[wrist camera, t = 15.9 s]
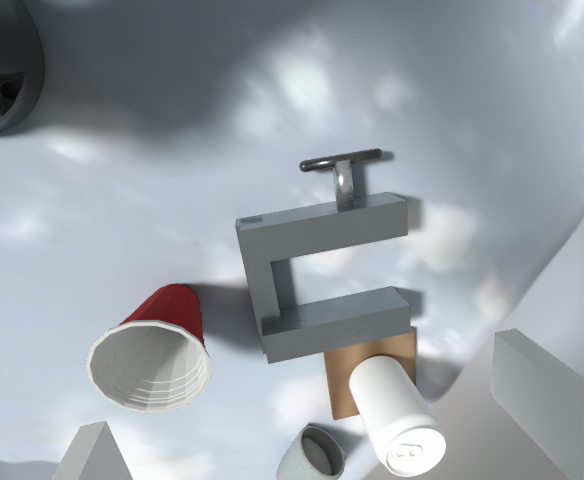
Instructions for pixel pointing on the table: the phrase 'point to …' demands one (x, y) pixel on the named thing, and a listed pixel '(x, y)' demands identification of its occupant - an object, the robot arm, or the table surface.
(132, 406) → the plastic cup
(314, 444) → the ceramic mug
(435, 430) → the beverage can
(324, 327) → the c-clamp
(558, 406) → the robot arm
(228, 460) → the table surface
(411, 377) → the pad
